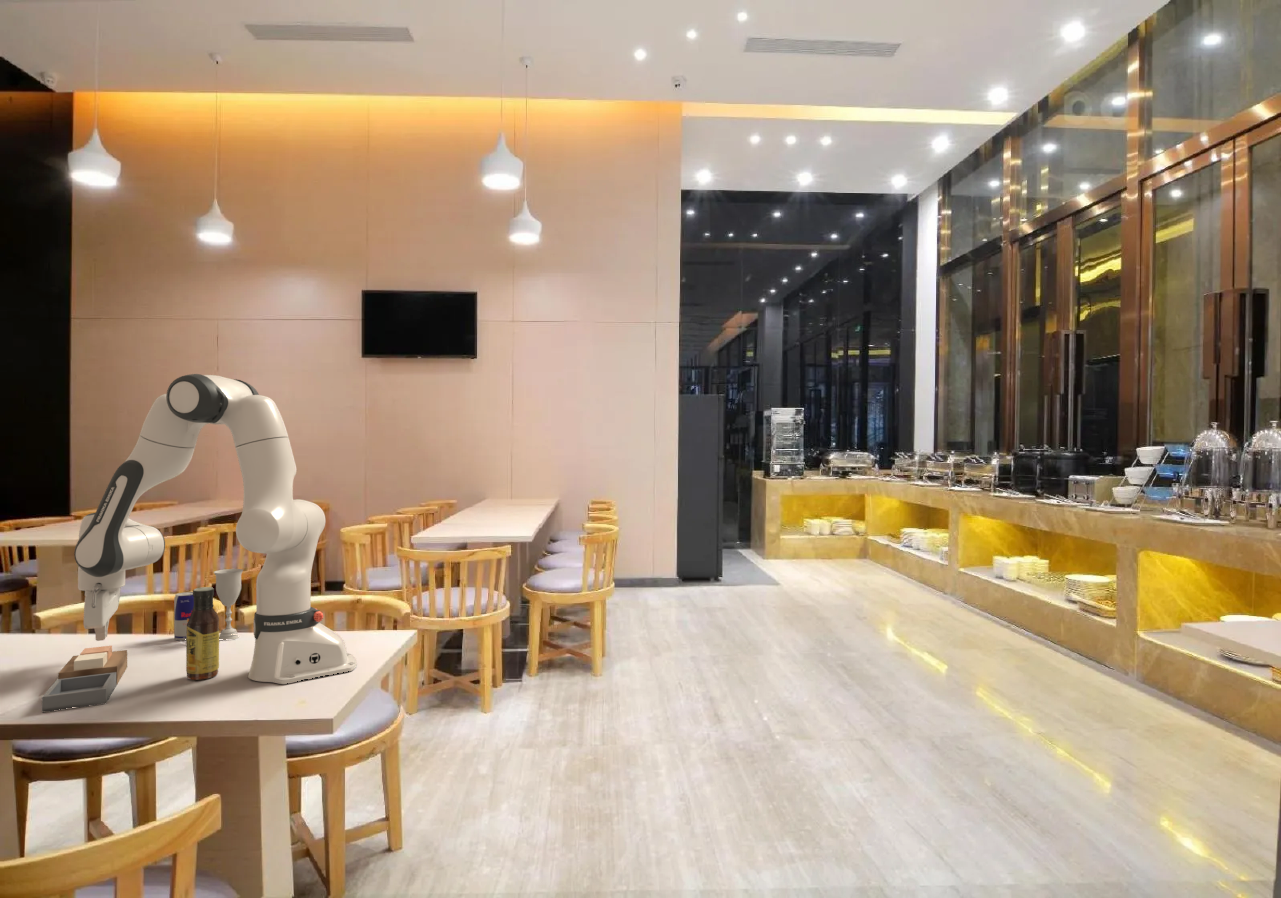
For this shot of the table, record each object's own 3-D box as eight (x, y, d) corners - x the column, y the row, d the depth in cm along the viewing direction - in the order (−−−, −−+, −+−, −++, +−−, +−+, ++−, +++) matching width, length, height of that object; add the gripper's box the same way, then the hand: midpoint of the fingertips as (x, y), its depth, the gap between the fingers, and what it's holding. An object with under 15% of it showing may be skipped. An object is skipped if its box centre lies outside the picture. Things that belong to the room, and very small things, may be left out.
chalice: (248, 637, 192) (248, 570, 192) (222, 642, 186) (222, 574, 186) (234, 633, 196) (234, 568, 196) (208, 638, 190) (208, 571, 190)
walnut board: (127, 667, 166) (127, 650, 166) (117, 684, 154) (117, 666, 154) (73, 673, 161) (73, 656, 161) (58, 692, 149) (58, 673, 149)
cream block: (107, 661, 157) (107, 652, 157) (103, 667, 153) (103, 658, 153) (78, 664, 155) (78, 655, 155) (73, 670, 150) (73, 661, 150)
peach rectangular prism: (112, 654, 162) (112, 645, 162) (108, 660, 158) (108, 651, 158) (84, 657, 160) (84, 648, 160) (80, 663, 156) (79, 654, 156)
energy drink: (186, 641, 188) (186, 596, 188) (169, 640, 189) (169, 595, 189) (202, 636, 193) (202, 592, 193) (186, 635, 194) (185, 591, 194)
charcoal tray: (116, 686, 153) (116, 672, 153) (106, 703, 142) (105, 688, 142) (57, 693, 148) (57, 679, 148) (42, 712, 137) (42, 697, 137)
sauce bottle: (184, 676, 159) (184, 587, 159) (217, 671, 163) (217, 584, 163) (187, 684, 154) (187, 592, 154) (221, 678, 158) (221, 589, 158)
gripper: (110, 586, 158) (110, 648, 158) (125, 572, 176) (124, 627, 176) (75, 589, 155) (74, 652, 155) (93, 574, 173) (93, 630, 173)
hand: (101, 639), depth 166 cm, fingers closed
